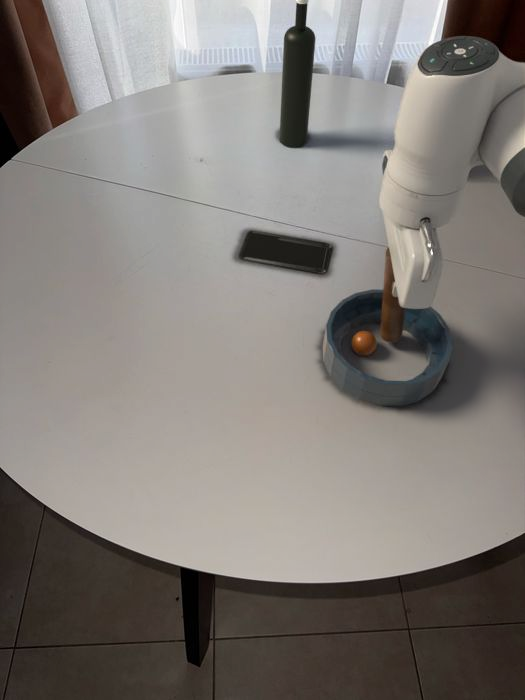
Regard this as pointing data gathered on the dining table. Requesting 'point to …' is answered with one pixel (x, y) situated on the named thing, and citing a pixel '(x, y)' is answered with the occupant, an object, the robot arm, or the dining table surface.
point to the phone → (285, 252)
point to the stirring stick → (390, 307)
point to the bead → (363, 343)
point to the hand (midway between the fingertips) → (395, 280)
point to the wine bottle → (297, 79)
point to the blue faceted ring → (416, 322)
